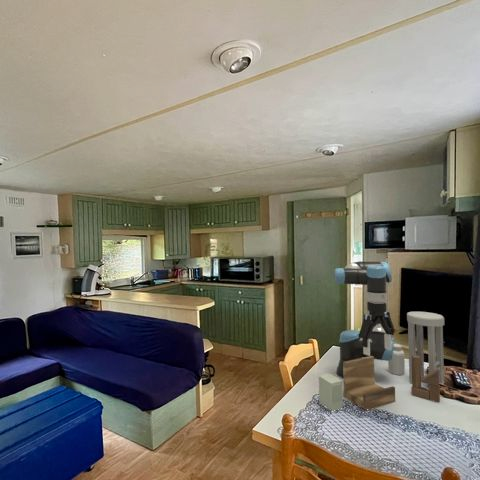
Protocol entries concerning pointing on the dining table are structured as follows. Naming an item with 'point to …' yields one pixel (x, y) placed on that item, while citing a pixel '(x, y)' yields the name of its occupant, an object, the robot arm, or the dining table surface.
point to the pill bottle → (397, 361)
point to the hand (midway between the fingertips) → (377, 351)
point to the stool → (433, 355)
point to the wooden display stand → (364, 384)
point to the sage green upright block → (330, 392)
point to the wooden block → (424, 381)
